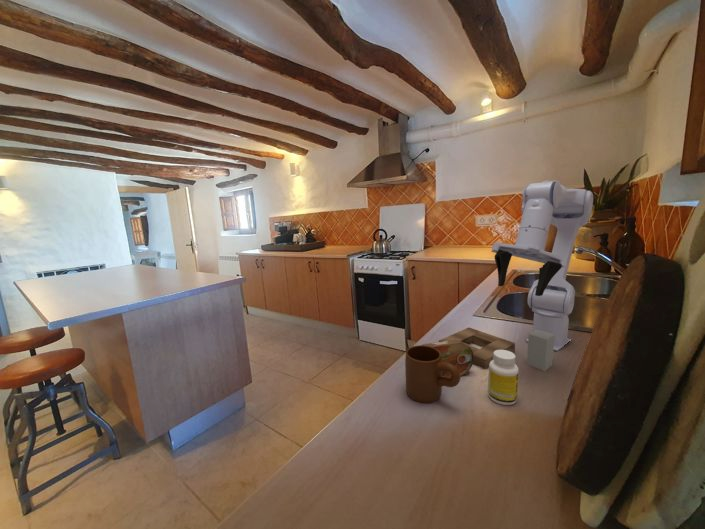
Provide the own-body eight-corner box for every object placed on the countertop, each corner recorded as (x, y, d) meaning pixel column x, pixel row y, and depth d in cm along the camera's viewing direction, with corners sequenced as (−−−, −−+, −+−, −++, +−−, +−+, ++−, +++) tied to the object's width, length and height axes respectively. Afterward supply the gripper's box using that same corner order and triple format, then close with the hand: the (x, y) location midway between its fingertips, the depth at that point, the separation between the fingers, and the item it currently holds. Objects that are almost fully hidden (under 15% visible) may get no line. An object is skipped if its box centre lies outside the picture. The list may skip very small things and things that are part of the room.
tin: (414, 383, 67) (413, 350, 65) (409, 376, 70) (408, 343, 68) (474, 374, 69) (475, 341, 67) (467, 368, 72) (467, 336, 70)
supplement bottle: (521, 407, 57) (523, 361, 55) (491, 404, 58) (493, 360, 56) (511, 390, 62) (514, 348, 60) (484, 388, 63) (486, 347, 62)
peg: (534, 358, 74) (536, 329, 73) (552, 365, 71) (554, 334, 69) (526, 364, 72) (528, 334, 70) (544, 370, 69) (547, 339, 67)
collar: (468, 334, 90) (468, 327, 89) (514, 351, 78) (515, 342, 78) (438, 348, 82) (438, 340, 82) (485, 369, 71) (485, 360, 70)
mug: (468, 400, 60) (469, 359, 58) (449, 420, 55) (450, 375, 53) (418, 378, 68) (418, 341, 67) (398, 393, 63) (397, 353, 62)
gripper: (503, 219, 63) (489, 278, 61) (579, 234, 59) (565, 298, 57) (495, 229, 70) (481, 283, 68) (562, 243, 66) (549, 301, 64)
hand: (519, 290), depth 63 cm, fingers open, 7 cm apart
